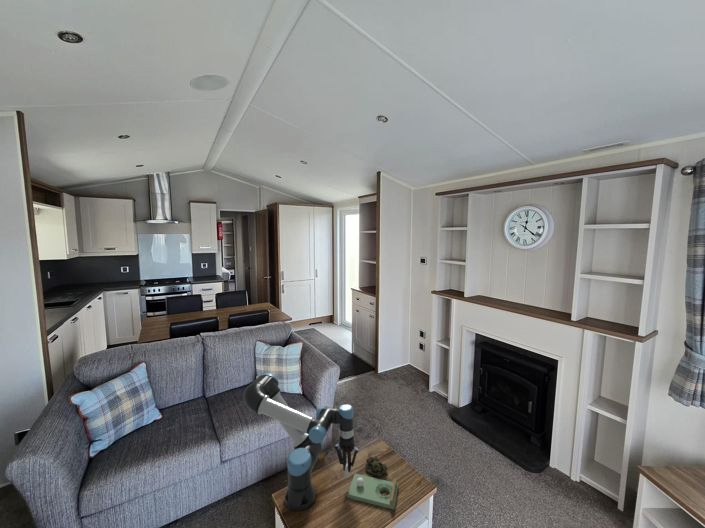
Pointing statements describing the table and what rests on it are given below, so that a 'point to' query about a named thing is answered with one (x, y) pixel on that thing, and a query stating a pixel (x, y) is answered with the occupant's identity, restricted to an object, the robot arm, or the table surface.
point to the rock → (375, 466)
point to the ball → (360, 482)
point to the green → (374, 491)
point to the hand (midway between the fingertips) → (347, 476)
